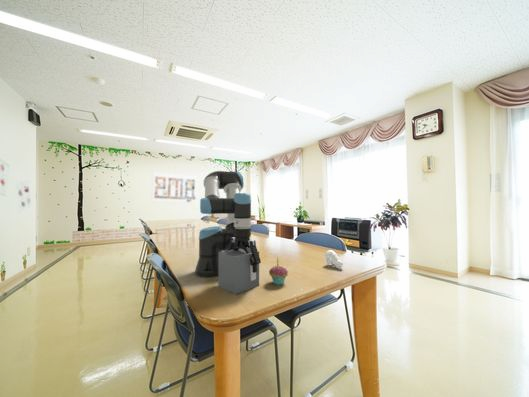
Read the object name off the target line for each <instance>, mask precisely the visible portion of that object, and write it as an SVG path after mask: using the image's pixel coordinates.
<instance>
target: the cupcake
mask: <svg viewBox="0 0 529 397" xmlns="http://www.w3.org/2000/svg"><path fill="white" fill-rule="evenodd" d="M268 274H269V276H270V277H271V280H272V281H273V284H274V285H279V286H280V285H283V284H285V279H286V278H287V277H288V274H289V271H288V270H287V268H285V267H283V266H280V265H279V257H278V256H277V258H276V265H275V266H273V267H271V268H270V269H269V271H268Z"/></svg>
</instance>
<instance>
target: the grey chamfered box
mask: <svg viewBox="0 0 529 397" xmlns="http://www.w3.org/2000/svg"><path fill="white" fill-rule="evenodd" d="M258 254H259V255H260V251H258ZM250 256H253V255H252V253H249V254H248V253H246V252H245V251H244V250H243V249H239V250H227V251H222V252H219V275H217V276H218V280H217V281H218V283H217V284H218V287H220V288H221V289H224V290H225V291H227V292H229V293H231V294H233V295H238V294H241V293H243V292H244V293H245V291H248V290H252V289H254V288H256V287H258V286H260V263H259V264H257V272H256V279H255V280H253V281H250V265H251V262H250Z"/></svg>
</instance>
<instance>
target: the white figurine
mask: <svg viewBox="0 0 529 397" xmlns="http://www.w3.org/2000/svg"><path fill="white" fill-rule="evenodd" d="M324 259H325V262H326V267H328V266H330V265H333V266H334V268H335V269H339V270H341V269H342V268H343V266H344V264H343V261H341V259H340V258H339V257H338V254H337V253H336V252H335V251H334V250H332V249H329V250H327V251H326V252H325V254H324Z"/></svg>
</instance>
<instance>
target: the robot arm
mask: <svg viewBox="0 0 529 397" xmlns="http://www.w3.org/2000/svg"><path fill="white" fill-rule="evenodd" d="M244 185H245V184H244V177H243V174H242V172H239V171H235V170H234V171H227V170H226V171H225V170H223V171H222V170H216V171H213V172H210V173H208V174H207V175H206V176H205V177H204V179H203V187H204V197H202V198H200V201H199V204H200V205H199V209H200V210H199V211H200V213H201V214H203V215H205V214H206V215H218V214H219V215H220V214H222V215H223V214H226V215H227V216H226V217H227V224H226V225H225V228H223V227H222V226H220V225H218V226H209V227H204V228H202V229H201V230H200V231H199V236H198V260H197V263H196V265H195V270H194V271H195V275H196V276H199V277H207V278H208V277H214V276H215V277H217V276H218V275H219V252H222V251H227V250H239V249H243V250H244V251H245V252H246V253H248V254H249V253H252V255H253V256H250V262H251V265H250V281H253V280H255V279H256V272H257V264H259V265H260V264H261V263H262V261H261V257H260V253H259V254H258V252H259V250H258V248H257V245H256V240H255V239H254V240H253V239H252V240H251V239H250V238H251V236H252V229H251V227H252V222H251V221H252V215H251V214H252V213H251V212H252V208H251V207H252V200H251V199H252V197H251V194H250V193H247V192H242V190H243V189H244V187H245V186H244ZM219 190H223V192H224V193H225V197H226V198H225V197H220V191H219Z"/></svg>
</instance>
